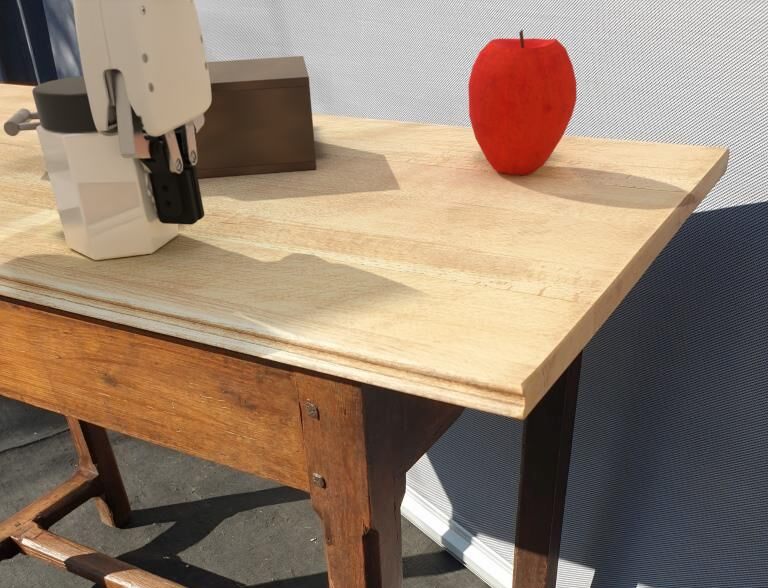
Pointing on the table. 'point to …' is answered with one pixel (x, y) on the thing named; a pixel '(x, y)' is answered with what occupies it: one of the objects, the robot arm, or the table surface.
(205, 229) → the table surface
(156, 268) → the table surface
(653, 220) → the table surface
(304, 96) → the cabinet
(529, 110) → the apple
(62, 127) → the jar
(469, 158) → the table surface
